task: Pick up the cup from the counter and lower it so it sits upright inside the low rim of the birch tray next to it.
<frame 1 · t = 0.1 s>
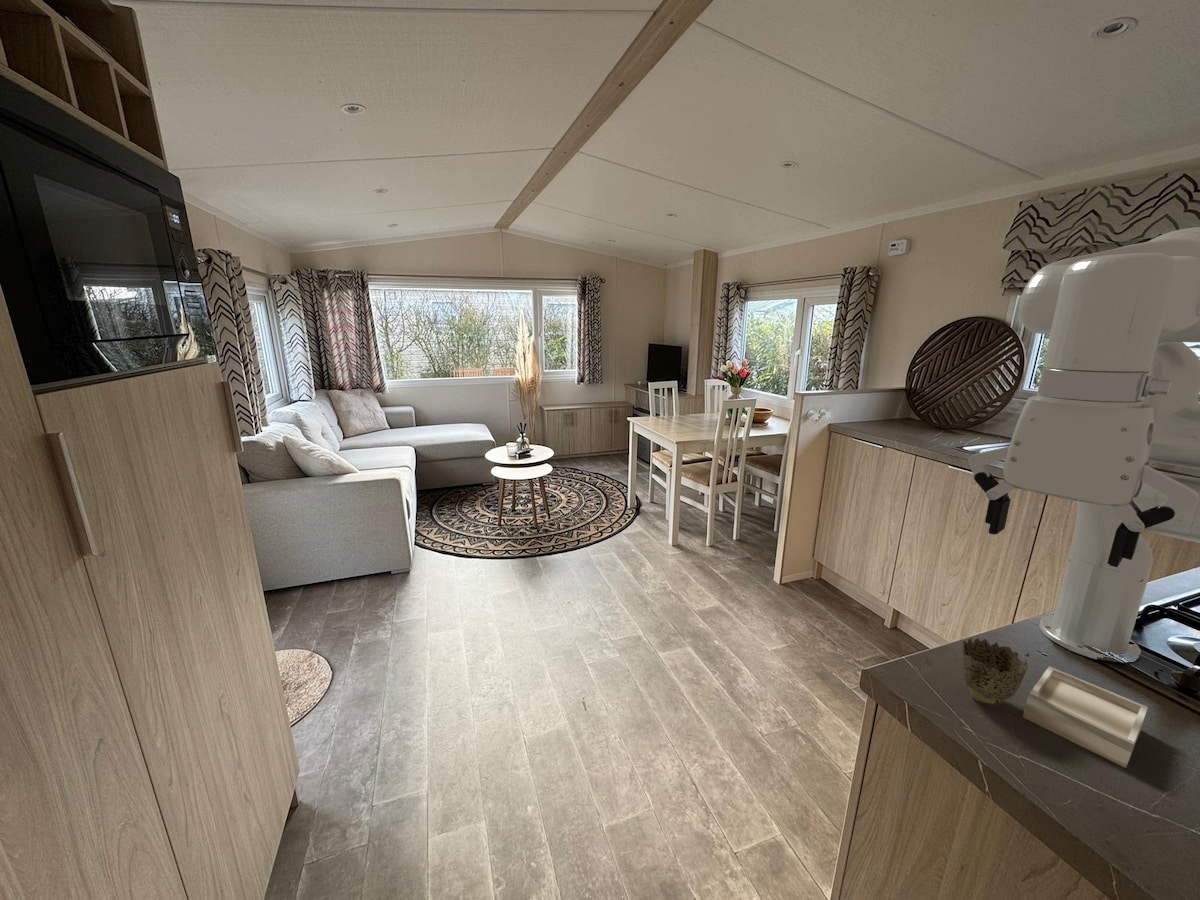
hand: (1051, 545, 52), 31 cm above the worktop, tool pointing down, fingers open, 9 cm apart
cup: (984, 700, 72), on the worktop
birch tray: (1080, 723, 68), on the worktop
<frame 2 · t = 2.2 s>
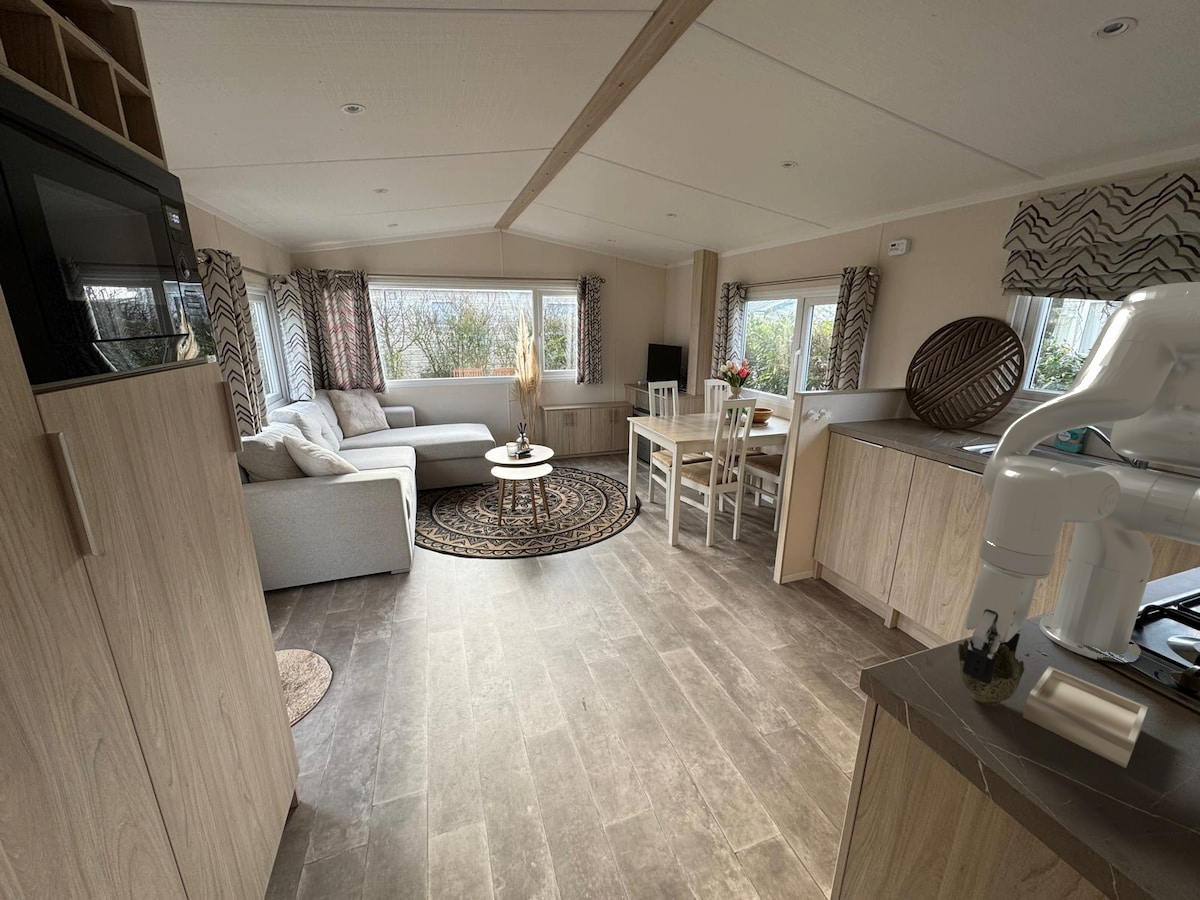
hand: (988, 664, 70), 6 cm above the worktop, tool pointing down, fingers open, 9 cm apart
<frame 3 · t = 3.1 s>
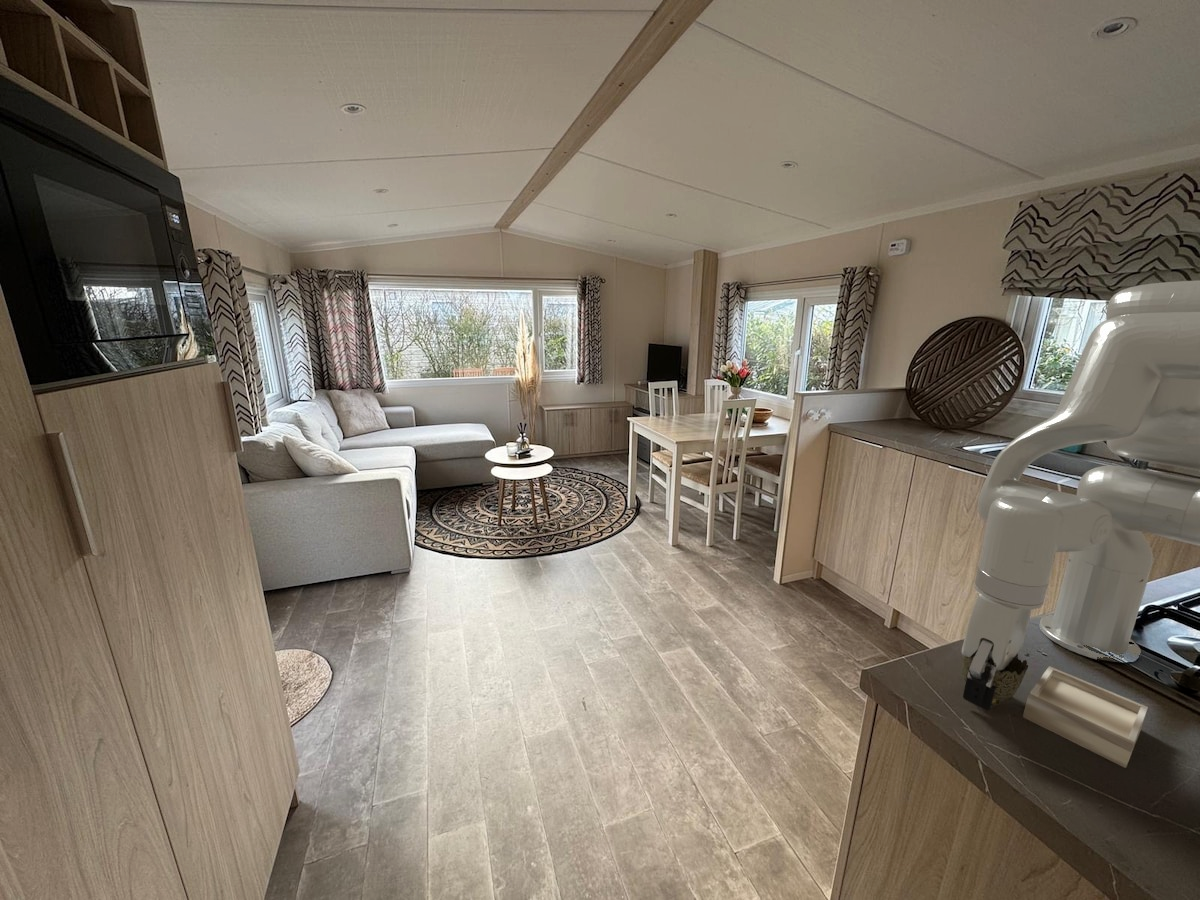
hand: (985, 692, 72), 1 cm above the worktop, tool pointing down, fingers closed on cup, 6 cm apart
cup: (984, 700, 72), on the worktop, touching gripper
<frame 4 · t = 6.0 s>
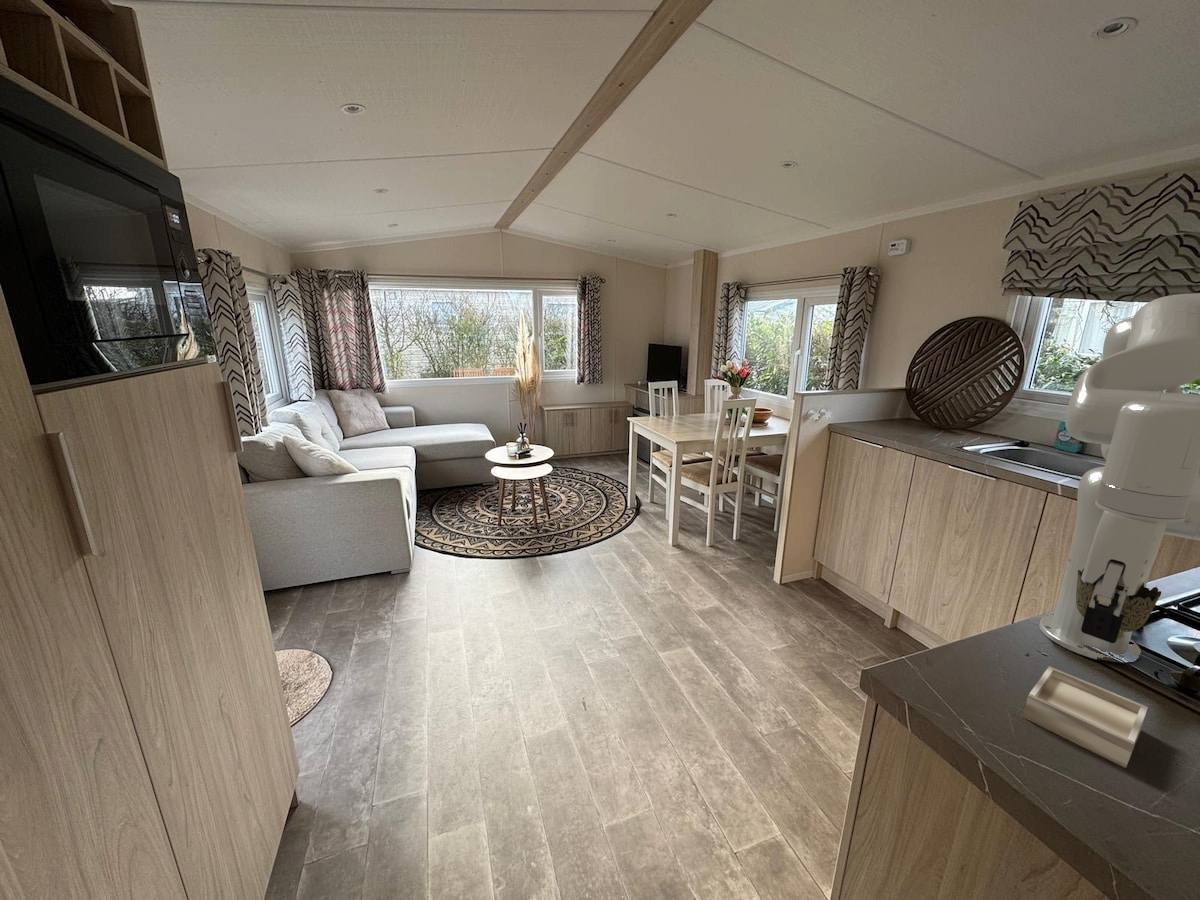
hand: (1105, 625, 64), 15 cm above the worktop, tool pointing down, fingers closed on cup, 6 cm apart
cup: (1102, 635, 64), point 14 cm above the worktop, touching gripper
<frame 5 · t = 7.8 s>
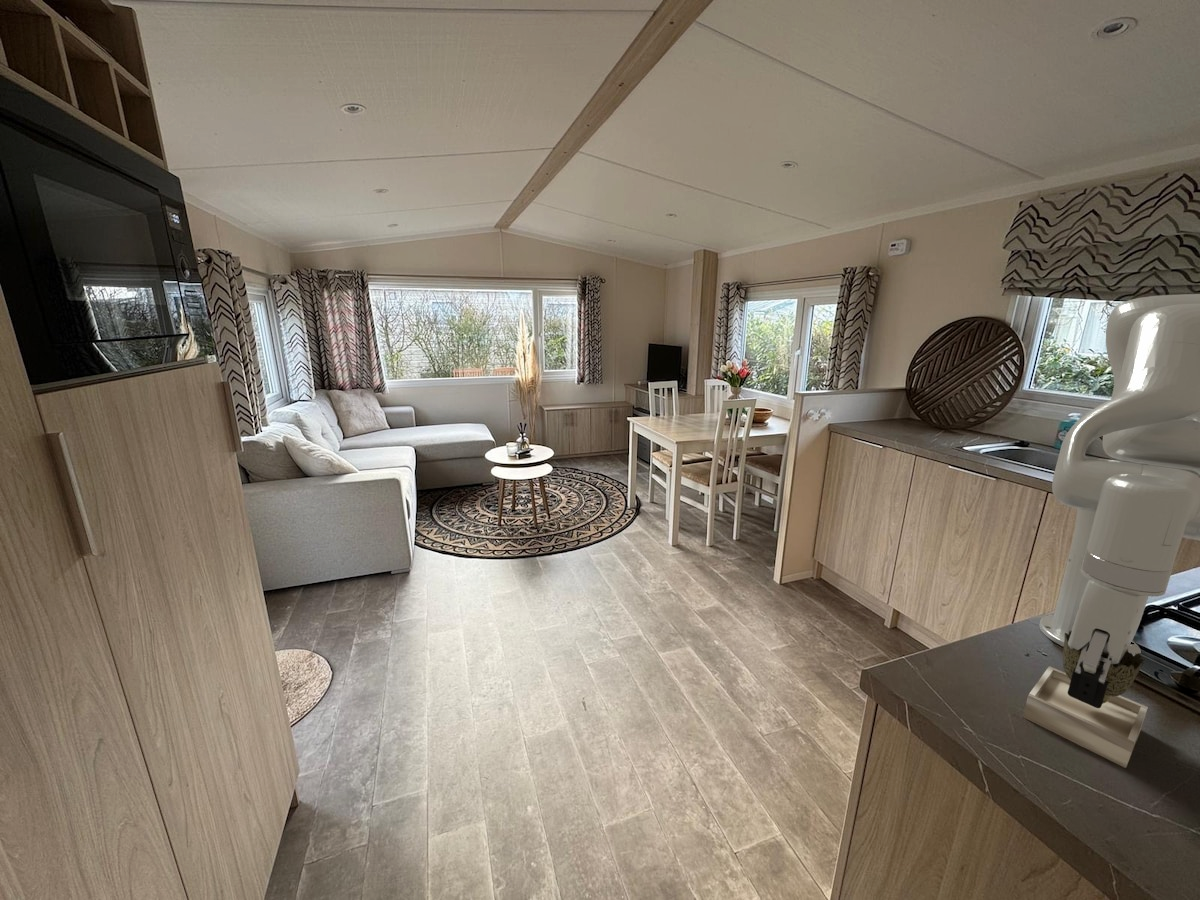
hand: (1090, 688, 66), 6 cm above the worktop, tool pointing down, fingers closed on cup, 6 cm apart
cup: (1088, 697, 66), point 4 cm above the worktop, touching gripper
when the fingers open (5 cm above the worktop, at t = 9.2 s): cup drops 1 cm, resting on birch tray.
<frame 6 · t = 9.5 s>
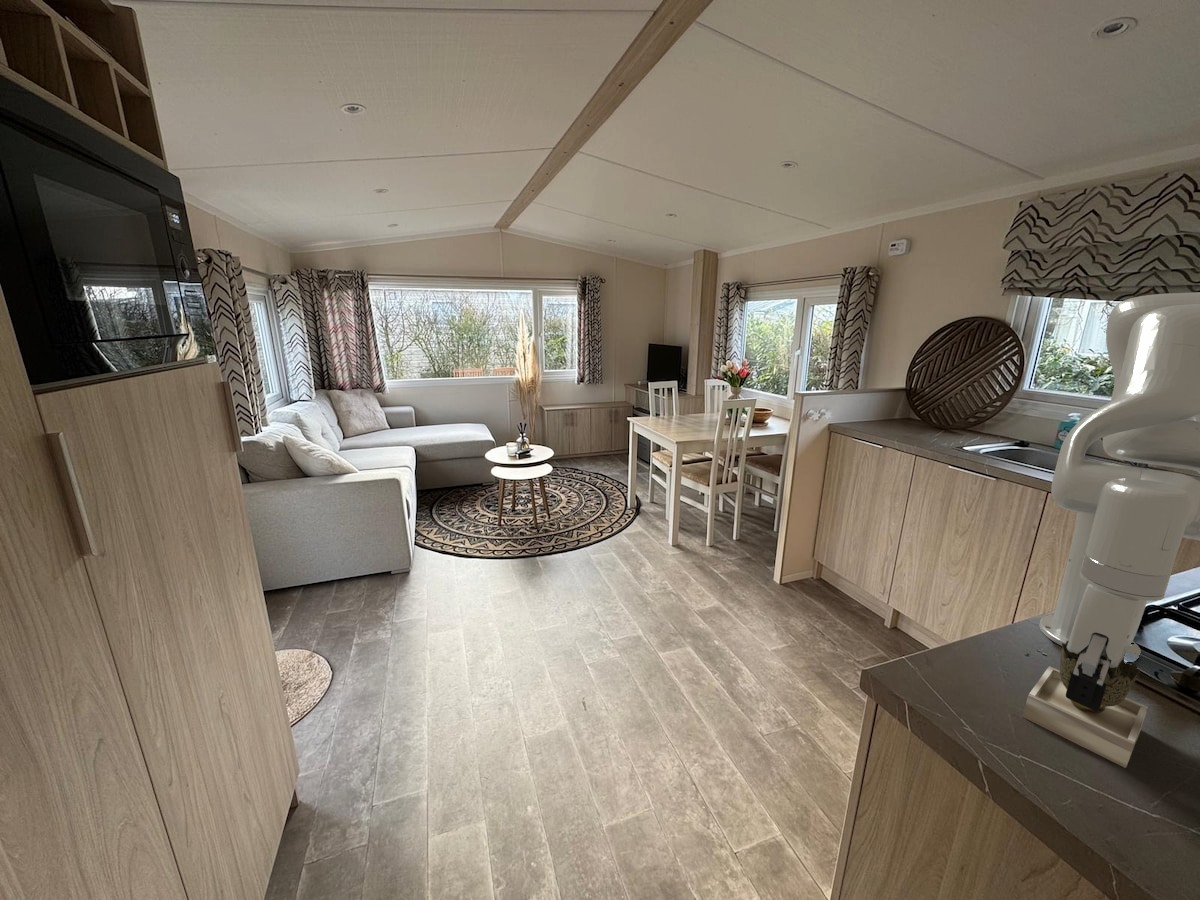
hand: (1090, 687, 66), 6 cm above the worktop, tool pointing down, fingers open, 9 cm apart
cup: (1085, 707, 67), point 2 cm above the worktop, touching birch tray
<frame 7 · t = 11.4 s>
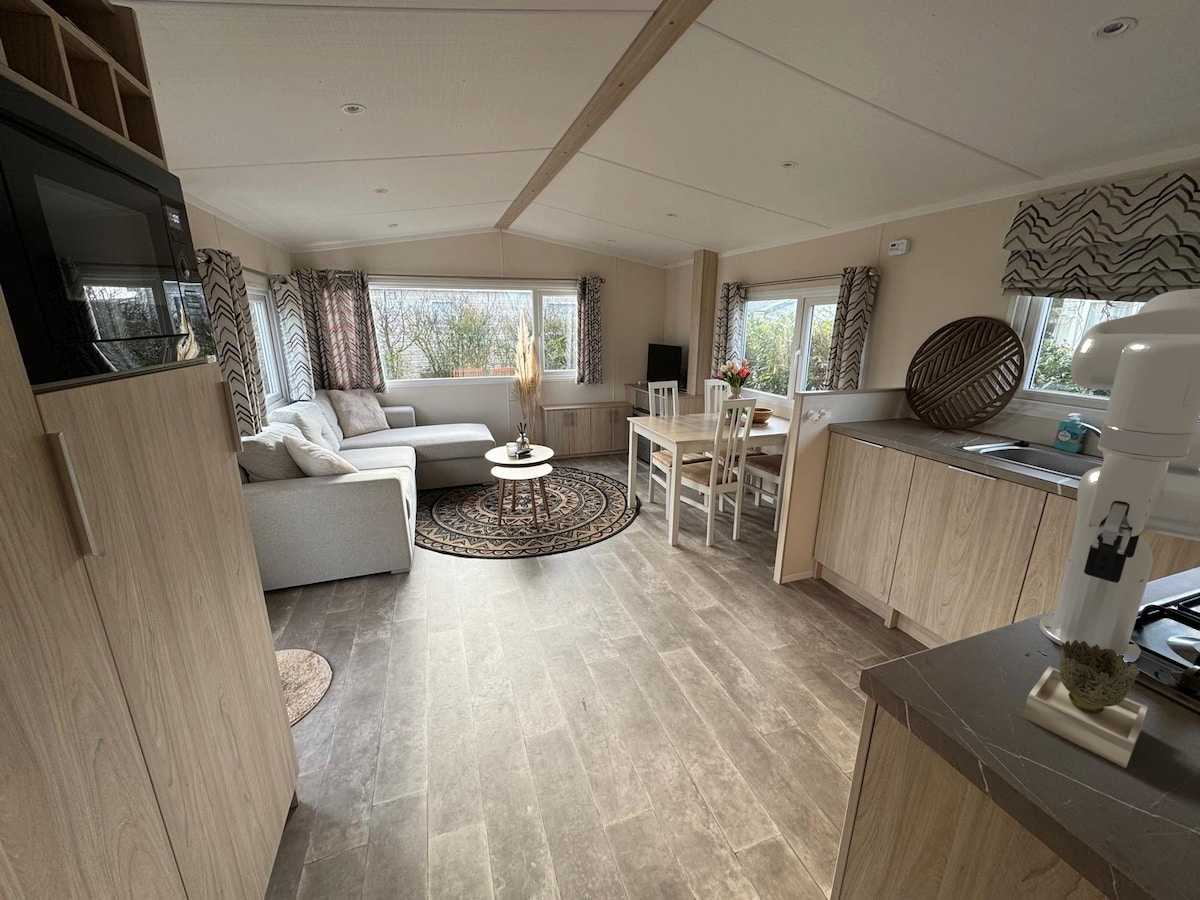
hand: (1108, 565, 64), 23 cm above the worktop, tool pointing down, fingers open, 9 cm apart
nothing on the worktop moved.
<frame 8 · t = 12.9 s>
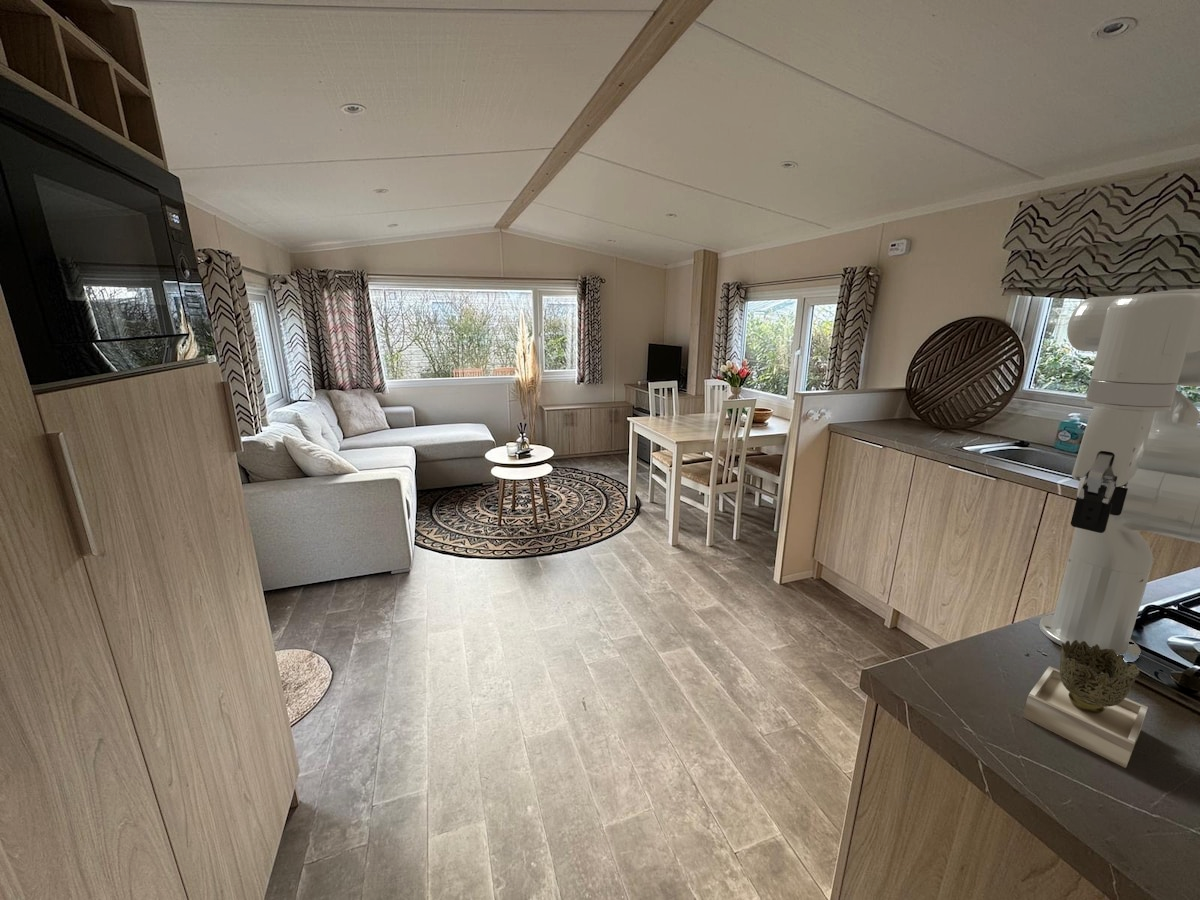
hand: (1095, 520, 66), 28 cm above the worktop, tool pointing down, fingers open, 9 cm apart
nothing on the worktop moved.
at the end: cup 0.6 cm off-centre on the birch tray, point 2.3 cm above the birch tray's base; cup tilted 0°; the gripper is holding nothing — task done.
